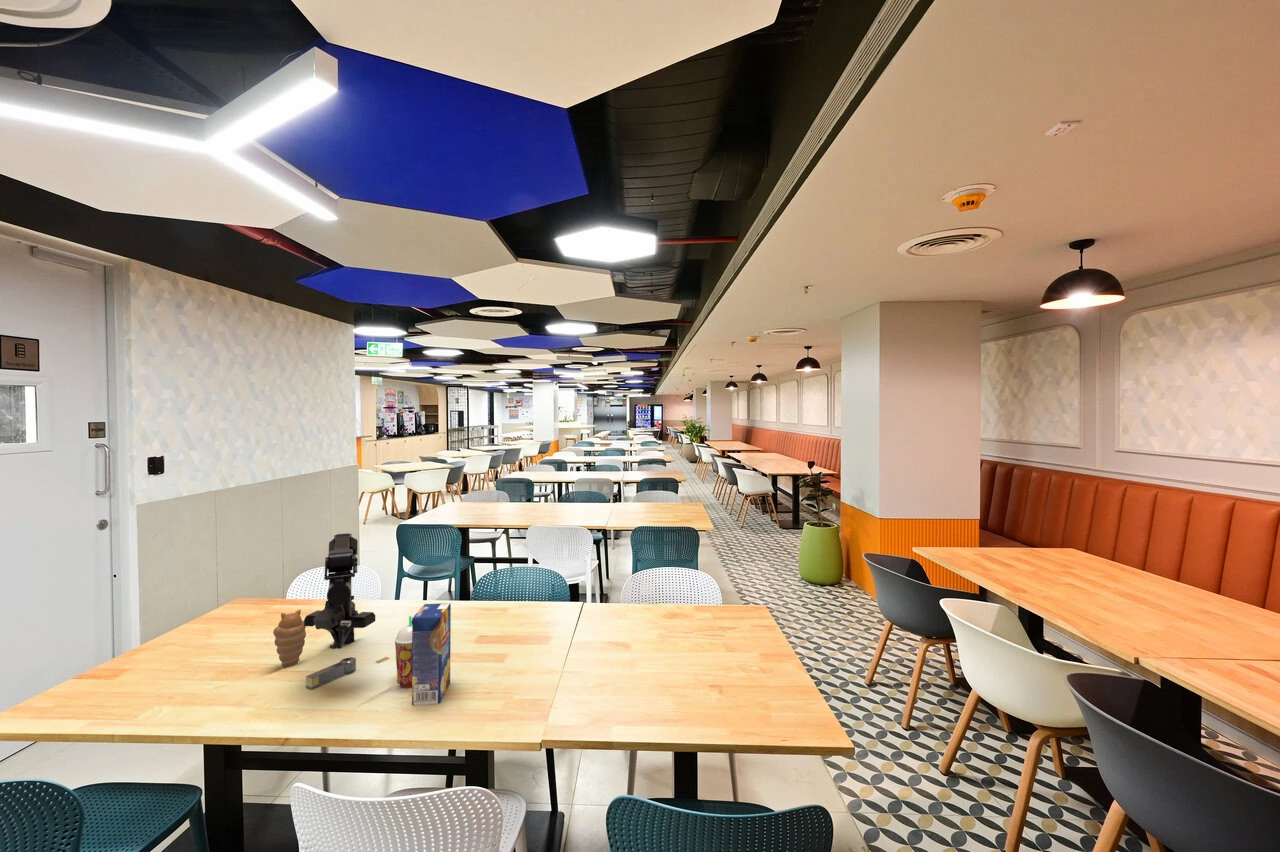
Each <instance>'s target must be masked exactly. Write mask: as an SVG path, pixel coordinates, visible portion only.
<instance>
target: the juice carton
mask: <svg viewBox="0 0 1280 852" xmlns="http://www.w3.org/2000/svg"><path fill="white" fill-rule="evenodd" d="M451 607H452V605H451V602H446V603H445V602H444V603H424V604H423V606H422V607H421V608H420V609H419V610H418V611H417V612H416V613H415V614H414V615H413V617H411V619H412V623H411V625H412V687H411V706H419V705H420V706H421V705H439V704H441V702H442V700H443V698H444V696H445V695H446V692H447V691H448V688H449V687H450V685H451V639H452V637H451V635H452V634H451V633H452V632H451V630H452V626H451V624H452V623H451V621H452V620H451V617H452V616H451V613H452V611H451V610H452V609H451Z"/></svg>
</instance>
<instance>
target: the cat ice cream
mask: <svg viewBox="0 0 1280 852" xmlns="http://www.w3.org/2000/svg"><path fill="white" fill-rule="evenodd" d="M301 611H302V610H301V609H298V610H296V611H294V612H291V613H288V614H287V613H284V612H281V613H280V617H281V618H280V621H279V622H278V625H277V626H276V627H275V628H274V629H273V631H272V633H273V636H274V645H275V646H276V653H277V654H278V660H279V661H280V662H281V666H282V667H283V668H285V669H287V668H290V667H293V666H296V665H298V663H299V660H300V656H301V655H302V653H303V650H304V647H305V641H306V640H305V638H306V636H307V631H306V627H307V626H304V619H302V616H301V613H302V612H301Z"/></svg>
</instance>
